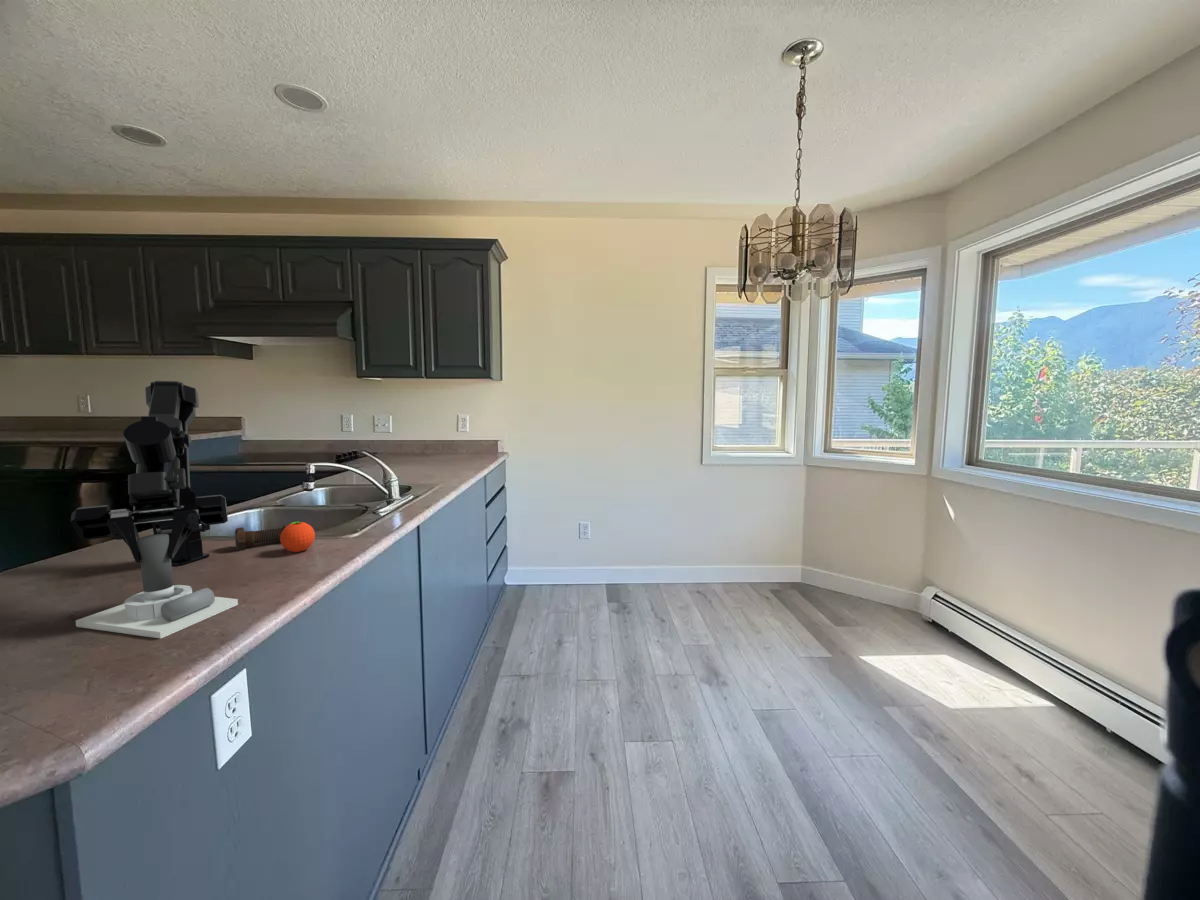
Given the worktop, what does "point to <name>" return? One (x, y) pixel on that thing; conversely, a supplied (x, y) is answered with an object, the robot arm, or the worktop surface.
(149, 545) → the crank handle
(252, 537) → the bolt
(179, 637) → the worktop surface
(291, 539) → the clementine
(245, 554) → the worktop surface
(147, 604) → the white socket base plate
